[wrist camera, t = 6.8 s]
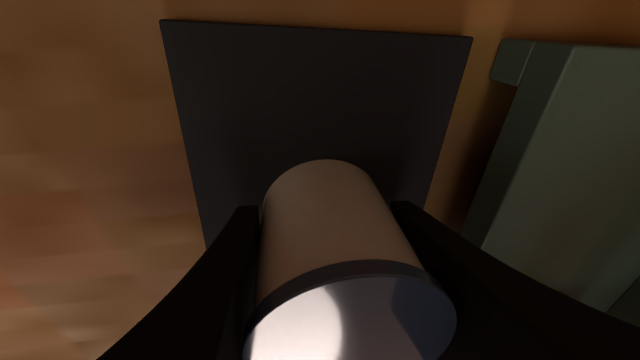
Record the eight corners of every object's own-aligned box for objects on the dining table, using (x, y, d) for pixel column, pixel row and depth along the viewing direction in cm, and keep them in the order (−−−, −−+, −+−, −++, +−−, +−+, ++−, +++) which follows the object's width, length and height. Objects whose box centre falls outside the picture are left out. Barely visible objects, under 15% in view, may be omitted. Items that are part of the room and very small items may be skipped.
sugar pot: (373, 254, 12) (428, 390, 7) (260, 260, 11) (249, 413, 7) (394, 153, 9) (491, 266, 5) (252, 154, 9) (227, 285, 4)
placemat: (384, 319, 15) (388, 329, 15) (228, 333, 14) (226, 345, 14) (463, 35, 8) (474, 37, 8) (166, 19, 7) (157, 19, 7)
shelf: (547, 304, 17) (627, 389, 13) (406, 317, 15) (449, 416, 12) (730, 50, 10) (1028, 72, 6) (501, 38, 8) (686, 54, 5)
